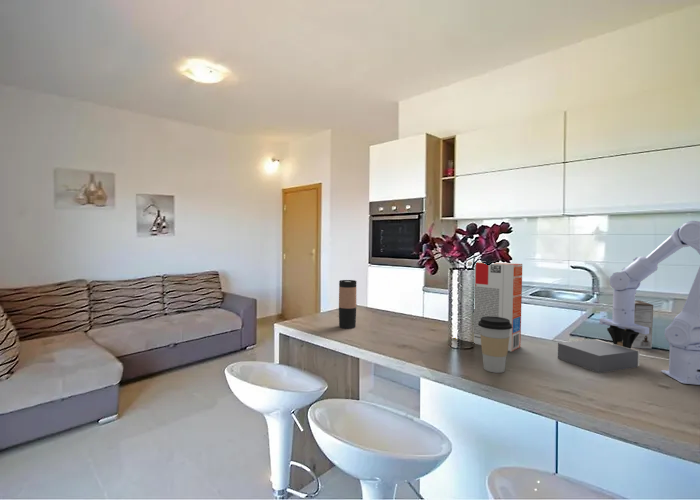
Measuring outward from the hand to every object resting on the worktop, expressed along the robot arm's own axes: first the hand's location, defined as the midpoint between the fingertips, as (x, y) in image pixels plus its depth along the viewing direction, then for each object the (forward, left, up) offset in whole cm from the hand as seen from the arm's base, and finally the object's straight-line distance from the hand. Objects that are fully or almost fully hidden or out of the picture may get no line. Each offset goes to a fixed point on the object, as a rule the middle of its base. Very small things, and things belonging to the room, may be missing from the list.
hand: (622, 350), depth 120 cm
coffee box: (+20, -14, -3) cm, 25 cm away
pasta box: (+10, +41, -3) cm, 42 cm away
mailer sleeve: (-6, +10, -3) cm, 12 cm away
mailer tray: (-4, +8, -2) cm, 9 cm away
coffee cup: (-20, +43, -3) cm, 47 cm away
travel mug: (+22, +96, -3) cm, 99 cm away
